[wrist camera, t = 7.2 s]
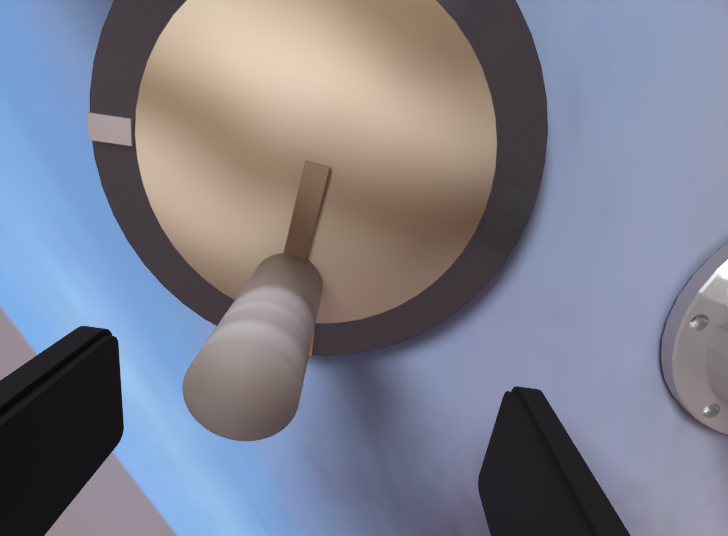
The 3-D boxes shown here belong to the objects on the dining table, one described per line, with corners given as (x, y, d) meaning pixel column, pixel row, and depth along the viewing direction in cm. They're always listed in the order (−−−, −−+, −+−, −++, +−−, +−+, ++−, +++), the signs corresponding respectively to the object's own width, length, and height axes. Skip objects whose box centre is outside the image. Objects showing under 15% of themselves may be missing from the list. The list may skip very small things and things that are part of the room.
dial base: (589, -55, 15) (618, -76, 14) (478, 358, 21) (487, 378, 20) (96, -145, 14) (61, -180, 13) (123, 316, 20) (102, 333, 19)
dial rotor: (178, -91, 14) (-77, -393, 6) (538, 34, 15) (745, -66, 7) (138, 265, 18) (-42, 384, 10) (422, 337, 19) (469, 493, 11)
